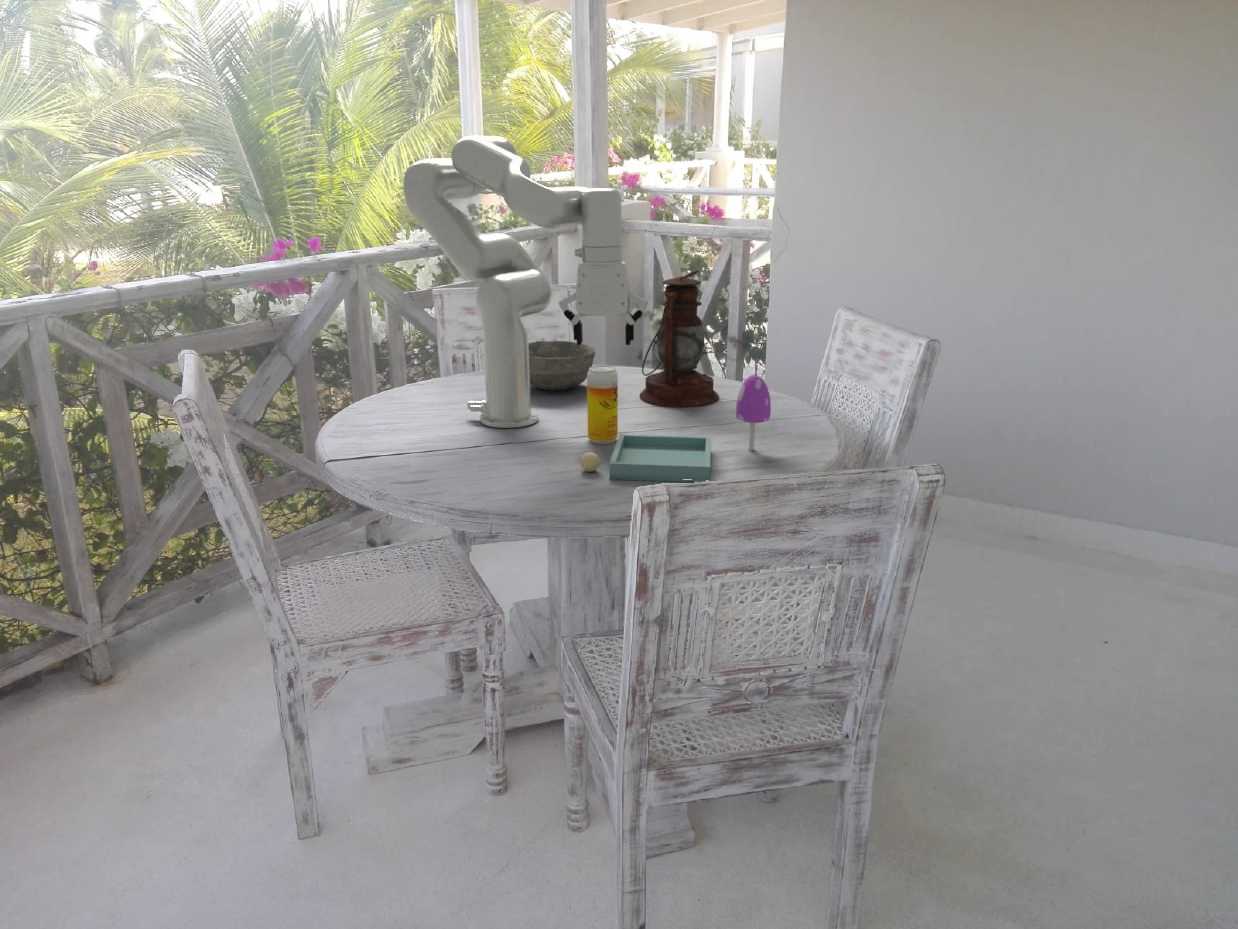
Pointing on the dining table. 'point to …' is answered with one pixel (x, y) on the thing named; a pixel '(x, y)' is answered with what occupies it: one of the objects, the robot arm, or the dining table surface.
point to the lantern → (679, 351)
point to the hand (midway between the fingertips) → (603, 343)
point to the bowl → (559, 364)
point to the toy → (753, 404)
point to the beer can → (602, 404)
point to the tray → (661, 458)
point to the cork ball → (590, 461)
